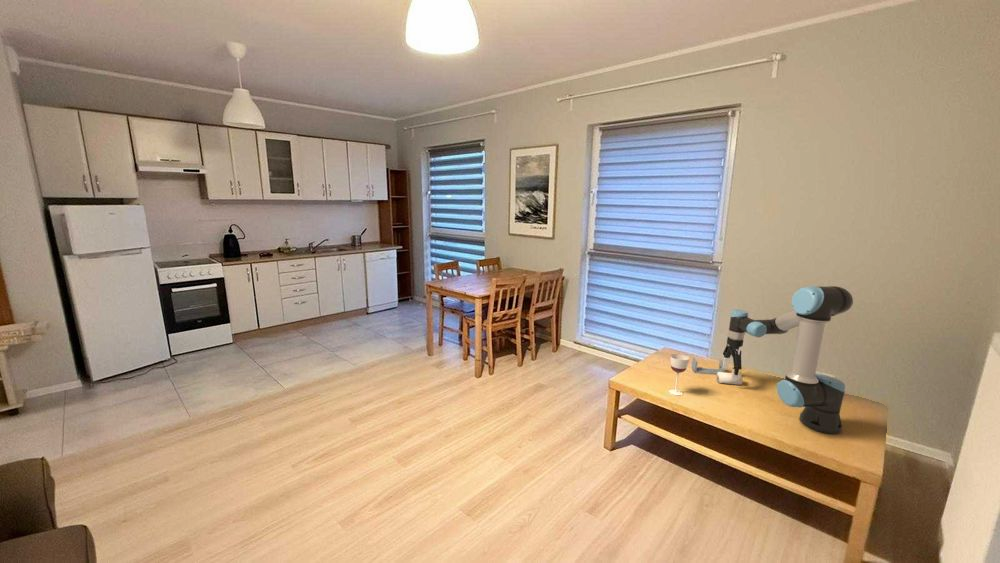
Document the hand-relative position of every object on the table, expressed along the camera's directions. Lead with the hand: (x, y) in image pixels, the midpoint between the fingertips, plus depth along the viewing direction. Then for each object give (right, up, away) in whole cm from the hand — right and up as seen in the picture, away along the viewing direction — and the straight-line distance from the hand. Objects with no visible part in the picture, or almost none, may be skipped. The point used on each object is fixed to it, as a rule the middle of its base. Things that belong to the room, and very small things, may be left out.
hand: (729, 374), depth 219 cm
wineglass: (-35, -7, -11) cm, 37 cm away
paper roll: (0, -5, +1) cm, 6 cm away
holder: (-4, -2, +15) cm, 16 cm away
